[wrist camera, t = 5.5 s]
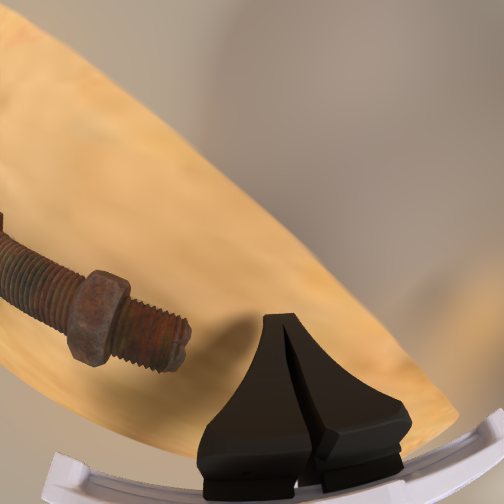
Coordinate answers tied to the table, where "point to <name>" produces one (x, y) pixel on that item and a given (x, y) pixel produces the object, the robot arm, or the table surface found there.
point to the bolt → (91, 311)
